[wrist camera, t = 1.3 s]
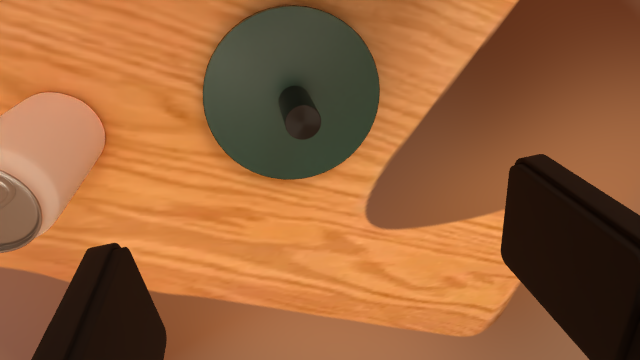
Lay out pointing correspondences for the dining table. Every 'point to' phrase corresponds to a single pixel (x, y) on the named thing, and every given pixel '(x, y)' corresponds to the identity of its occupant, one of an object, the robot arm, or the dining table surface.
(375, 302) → the dining table surface
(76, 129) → the can
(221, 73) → the lid
